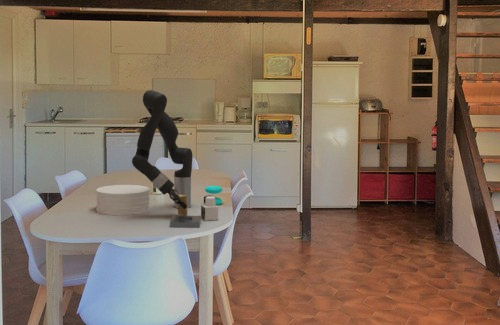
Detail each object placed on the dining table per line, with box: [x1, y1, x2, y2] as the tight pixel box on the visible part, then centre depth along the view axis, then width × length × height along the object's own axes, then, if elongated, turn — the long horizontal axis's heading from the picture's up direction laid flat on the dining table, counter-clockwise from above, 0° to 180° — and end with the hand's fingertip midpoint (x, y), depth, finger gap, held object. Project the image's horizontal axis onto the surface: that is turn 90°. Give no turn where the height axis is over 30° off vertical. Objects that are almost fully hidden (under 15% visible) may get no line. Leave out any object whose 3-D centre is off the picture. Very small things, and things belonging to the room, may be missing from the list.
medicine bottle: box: [200, 194, 219, 222], centre depth 284 cm, size 7×7×12 cm
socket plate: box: [169, 215, 202, 228], centre depth 273 cm, size 14×14×2 cm
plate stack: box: [95, 184, 151, 216], centre depth 303 cm, size 28×28×12 cm
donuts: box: [204, 185, 223, 206], centre depth 323 cm, size 10×10×10 cm
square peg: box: [177, 195, 188, 216], centre depth 288 cm, size 5×5×10 cm
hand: (186, 206), depth 288 cm, fingers closed on square peg, 4 cm apart
